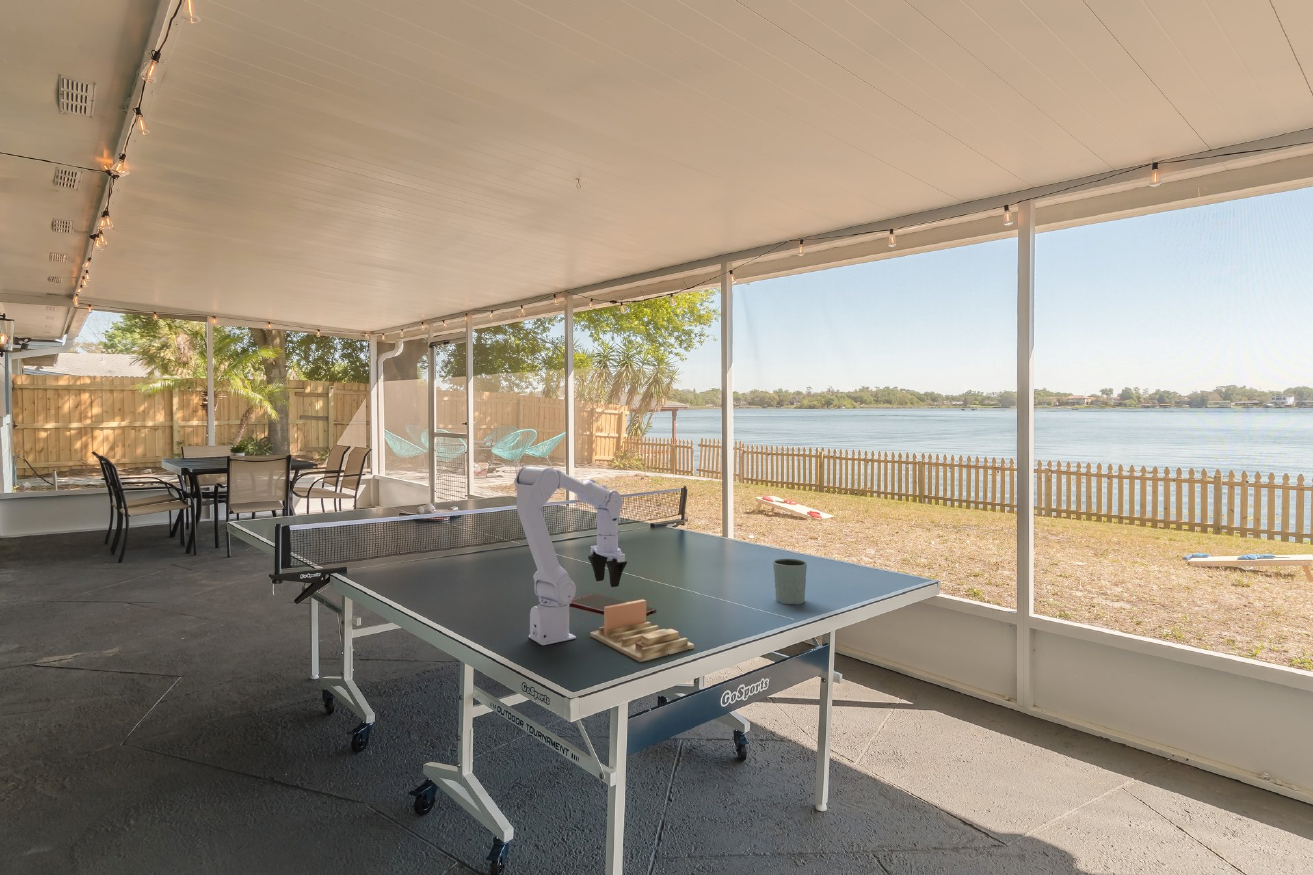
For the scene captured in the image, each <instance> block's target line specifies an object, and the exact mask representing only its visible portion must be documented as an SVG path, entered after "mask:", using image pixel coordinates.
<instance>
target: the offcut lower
mask: <svg viewBox="0 0 1313 875" xmlns="http://www.w3.org/2000/svg"><path fill="white" fill-rule="evenodd" d="M677 639H682V638H681V637H680V636H679V638H676V639H672V640H668V641H664V642H660V643H656V644H651V645H647V644H645V643H643V642H641V641H640V642H636V643H635V649H637V650H639V651H641V649H642V648H644V647H648V646H652V645H657V644H661V643H665V642H669V641H673V640H677Z"/></svg>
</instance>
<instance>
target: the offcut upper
mask: <svg viewBox="0 0 1313 875" xmlns="http://www.w3.org/2000/svg"><path fill="white" fill-rule="evenodd" d="M666 629H667V628H666ZM679 633H680V632H679V631H677V630H676V629H673V628H668V629H667V630H663V631H659V632H654V633H650V634H645V635H641V642H643V643H645V644H647V645H651V644H656V643H660V642H664V641H668V640H672V639H676V638H679V637H680V634H679Z"/></svg>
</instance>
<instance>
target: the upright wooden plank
mask: <svg viewBox="0 0 1313 875" xmlns="http://www.w3.org/2000/svg"><path fill="white" fill-rule="evenodd" d="M626 602H627V603H621V604H616V605H611V606H606V607H604V614H603V626H604V634H605V635H606V631H608V630H612V629H617V628H622V627H626V626H631V625H636V624H640V623H645V622H647V615H646V606H647V600H645V599H643V598H642V599H638V600H633V601H626Z"/></svg>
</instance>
